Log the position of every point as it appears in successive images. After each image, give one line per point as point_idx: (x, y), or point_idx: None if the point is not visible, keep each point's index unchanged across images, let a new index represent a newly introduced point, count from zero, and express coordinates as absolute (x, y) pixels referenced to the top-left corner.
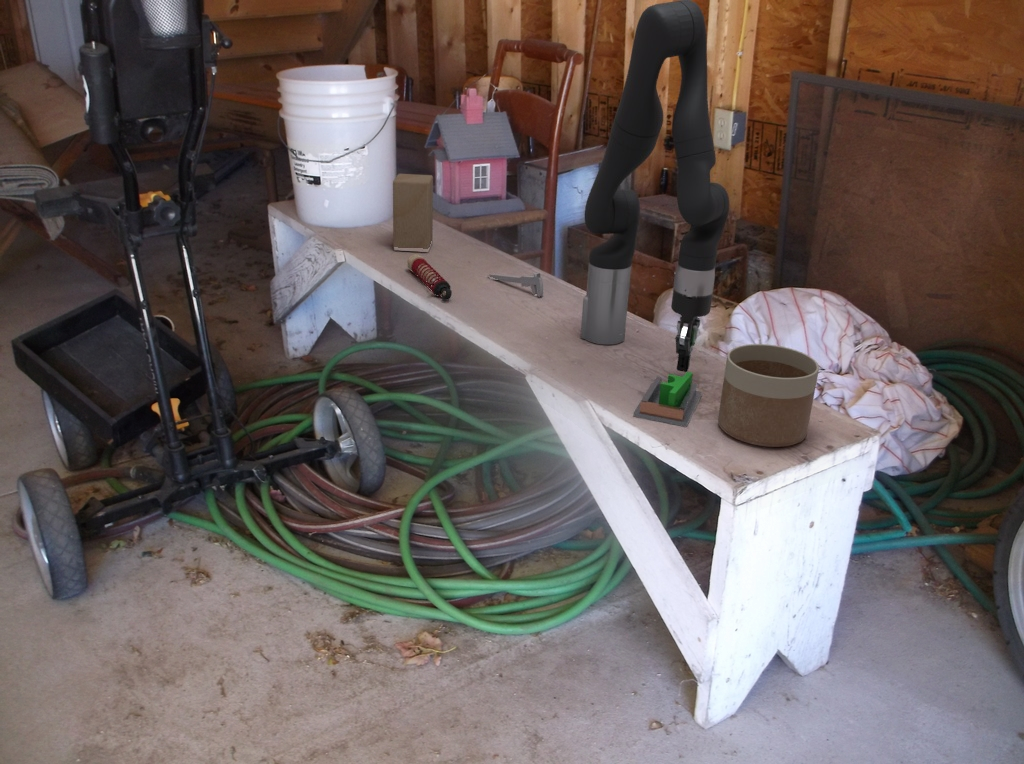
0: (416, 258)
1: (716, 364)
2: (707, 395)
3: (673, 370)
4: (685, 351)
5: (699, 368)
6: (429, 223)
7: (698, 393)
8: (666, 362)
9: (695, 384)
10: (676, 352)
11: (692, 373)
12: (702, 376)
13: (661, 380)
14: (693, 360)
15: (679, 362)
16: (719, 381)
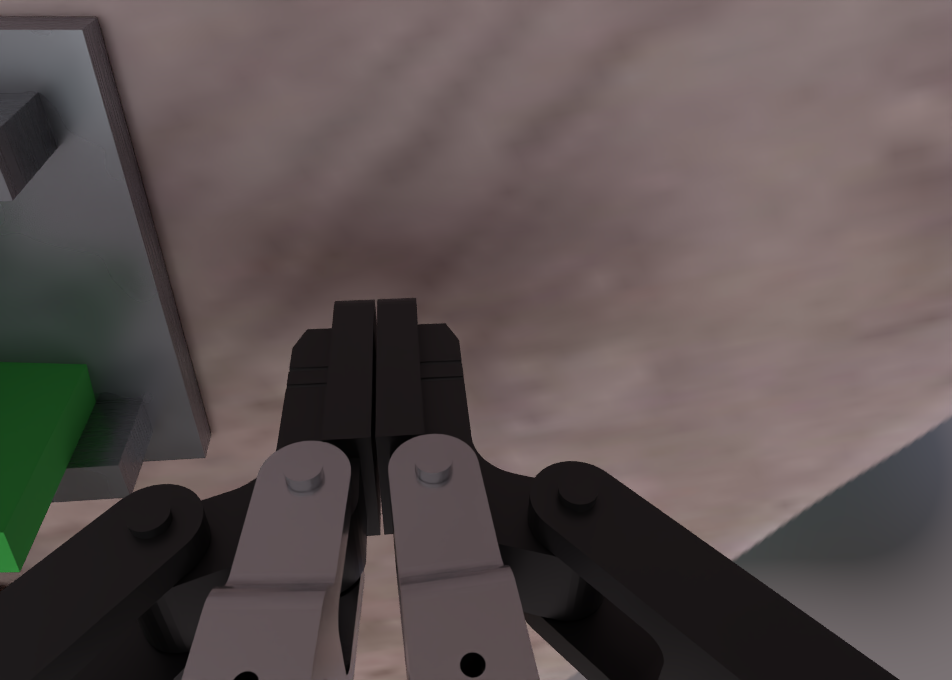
0: None
1: (855, 395)
2: (247, 459)
3: (649, 135)
4: (138, 628)
5: (753, 316)
6: None
7: (157, 444)
8: (854, 18)
9: (98, 491)
10: (101, 517)
11: (14, 568)
12: (591, 366)
13: (24, 181)
14: (927, 242)
15: (287, 391)
16: (541, 466)
